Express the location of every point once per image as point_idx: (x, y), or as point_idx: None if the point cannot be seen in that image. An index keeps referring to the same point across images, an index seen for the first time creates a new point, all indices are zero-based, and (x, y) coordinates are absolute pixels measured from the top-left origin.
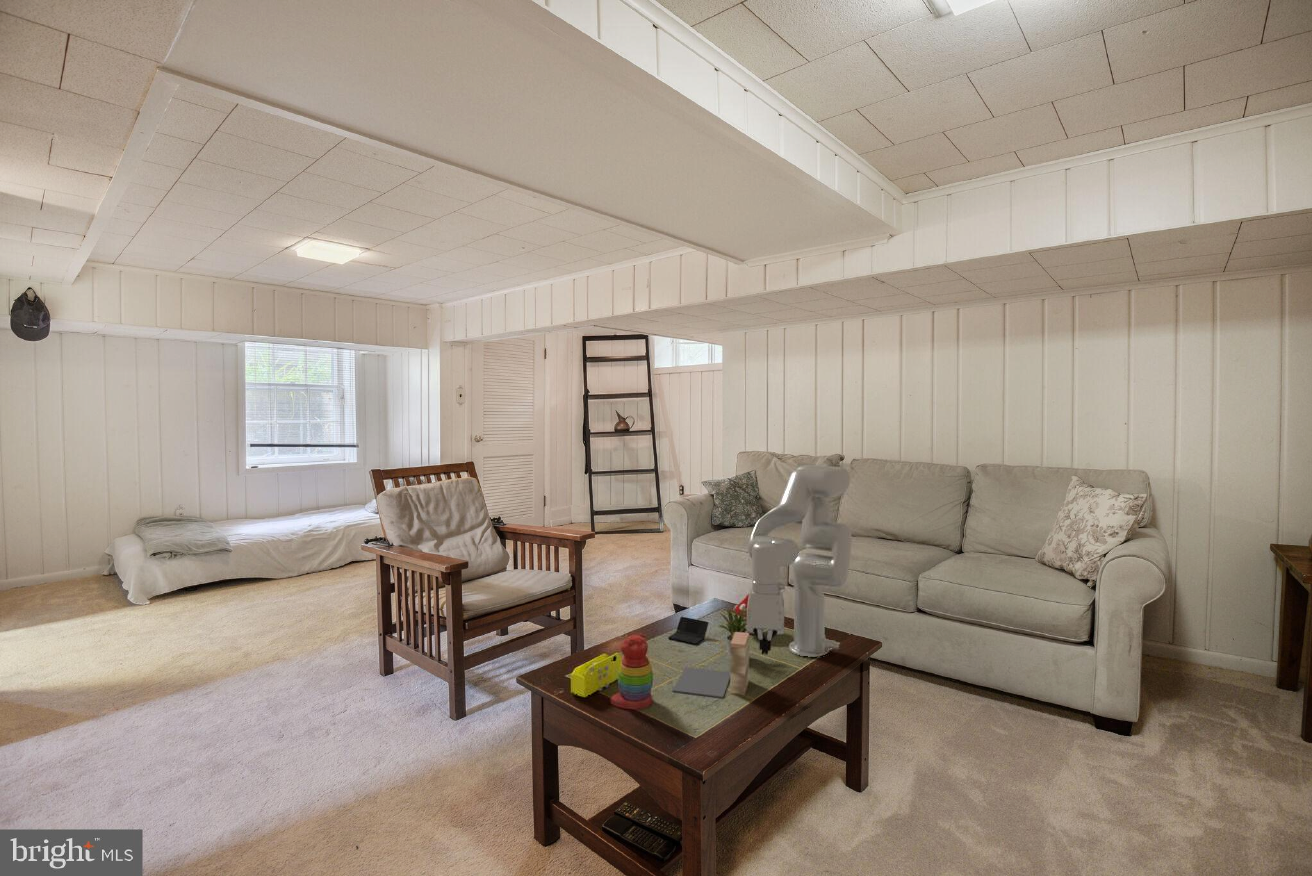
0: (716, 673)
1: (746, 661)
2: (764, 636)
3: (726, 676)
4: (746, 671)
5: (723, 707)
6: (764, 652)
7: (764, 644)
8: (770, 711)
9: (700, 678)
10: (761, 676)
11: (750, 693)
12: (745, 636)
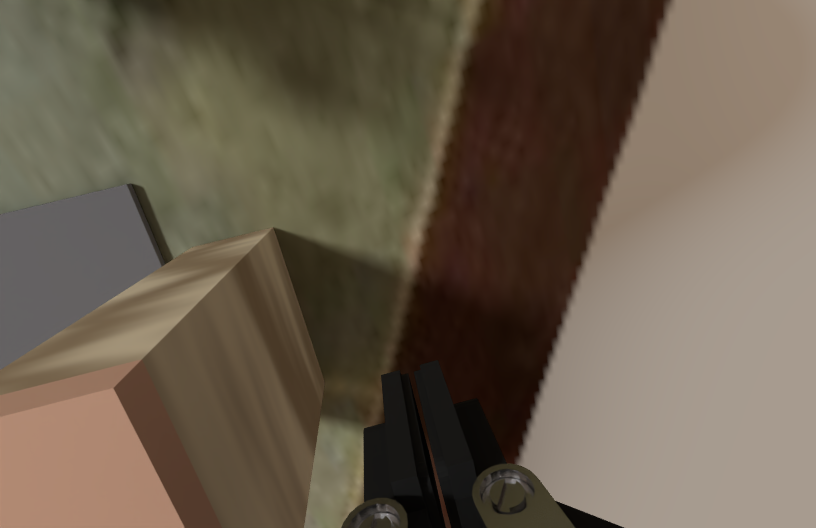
0: (54, 249)
1: (281, 437)
2: (416, 483)
3: (134, 259)
4: (292, 386)
5: None
6: (427, 447)
7: (444, 524)
8: None
9: (19, 357)
10: (313, 128)
11: (342, 355)
12: (140, 521)
